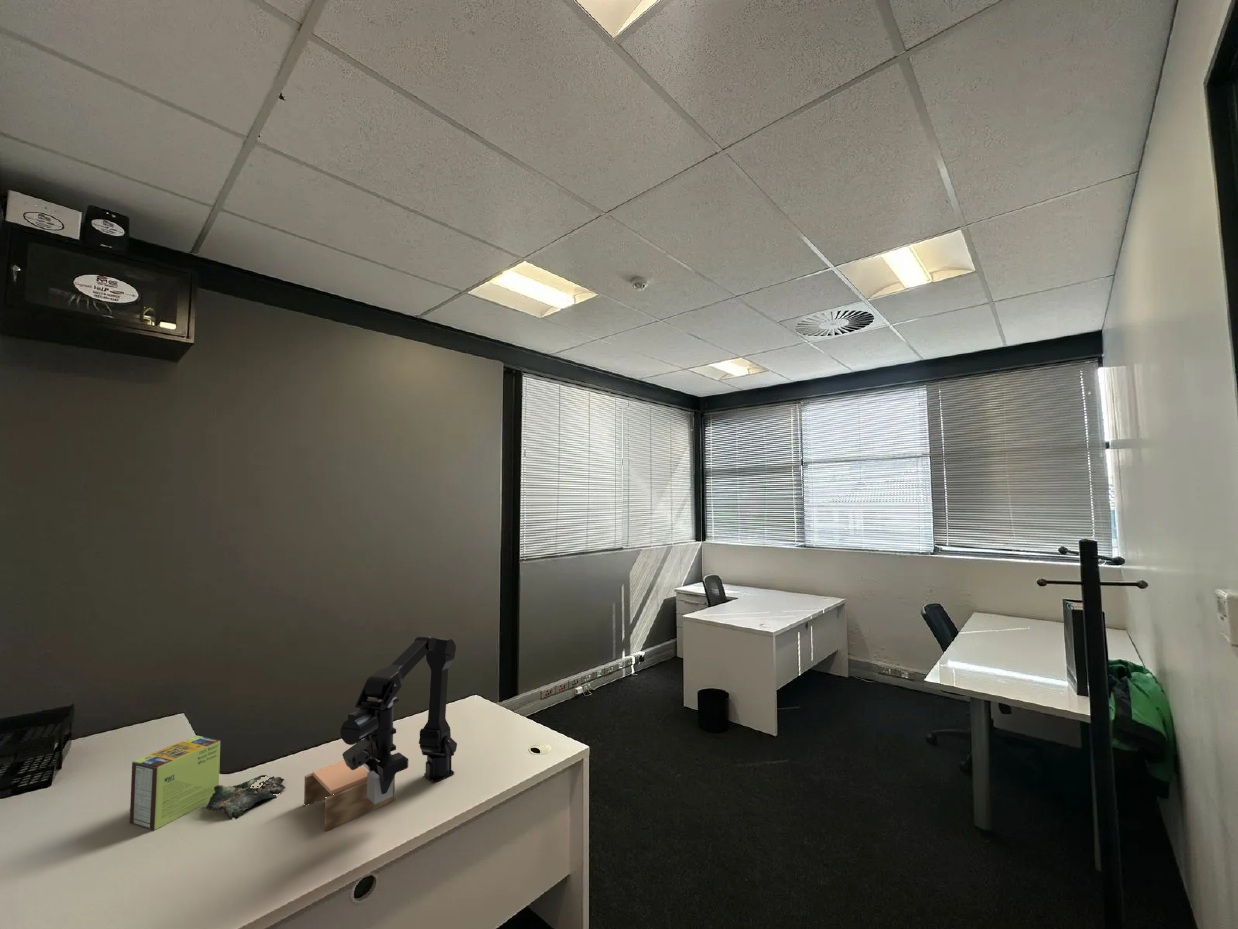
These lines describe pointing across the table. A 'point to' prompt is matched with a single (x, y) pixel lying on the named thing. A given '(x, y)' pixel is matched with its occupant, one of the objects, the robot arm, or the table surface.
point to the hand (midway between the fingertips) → (380, 790)
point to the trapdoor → (340, 776)
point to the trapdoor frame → (341, 801)
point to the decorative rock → (243, 795)
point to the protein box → (173, 781)
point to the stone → (376, 788)
